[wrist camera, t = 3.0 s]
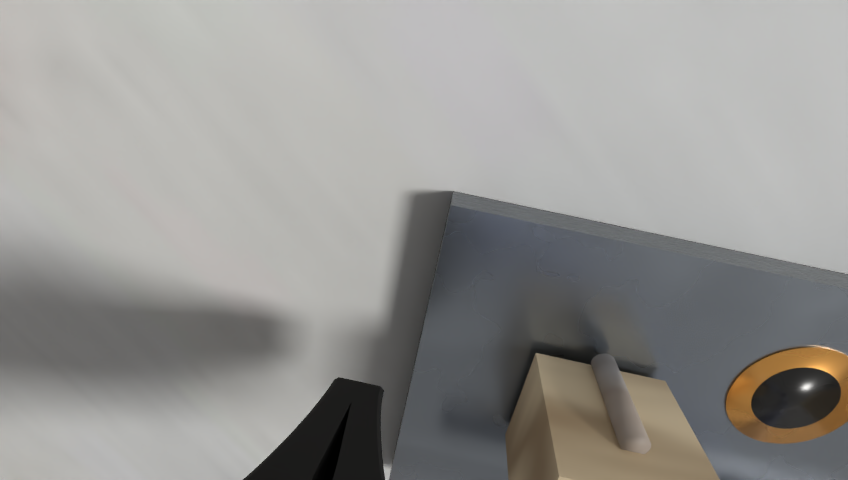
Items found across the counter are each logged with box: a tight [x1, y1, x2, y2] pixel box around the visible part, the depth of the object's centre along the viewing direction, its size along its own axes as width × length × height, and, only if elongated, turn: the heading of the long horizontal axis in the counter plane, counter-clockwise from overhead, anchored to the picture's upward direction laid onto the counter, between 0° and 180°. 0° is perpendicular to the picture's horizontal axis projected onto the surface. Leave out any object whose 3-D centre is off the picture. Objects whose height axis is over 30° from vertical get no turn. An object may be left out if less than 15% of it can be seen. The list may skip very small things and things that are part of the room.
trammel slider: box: [505, 353, 720, 480], centre depth 12 cm, size 4×4×4 cm
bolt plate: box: [389, 191, 848, 480], centre depth 15 cm, size 12×27×1 cm, turn 80°
